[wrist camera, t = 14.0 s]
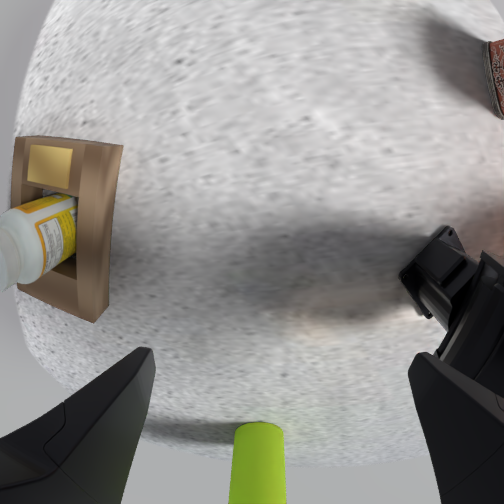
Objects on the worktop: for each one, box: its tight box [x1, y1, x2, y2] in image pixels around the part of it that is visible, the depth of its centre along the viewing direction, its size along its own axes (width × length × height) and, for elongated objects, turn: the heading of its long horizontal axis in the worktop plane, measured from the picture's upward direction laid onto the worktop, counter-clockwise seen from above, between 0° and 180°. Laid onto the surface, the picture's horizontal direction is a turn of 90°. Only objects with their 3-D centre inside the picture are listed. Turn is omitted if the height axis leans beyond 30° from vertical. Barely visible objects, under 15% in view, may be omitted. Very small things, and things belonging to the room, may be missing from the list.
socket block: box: [11, 135, 123, 323], centre depth 19 cm, size 14×10×3 cm
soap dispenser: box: [228, 422, 286, 504], centre depth 19 cm, size 6×7×20 cm
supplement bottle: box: [0, 193, 79, 292], centre depth 16 cm, size 5×5×10 cm
